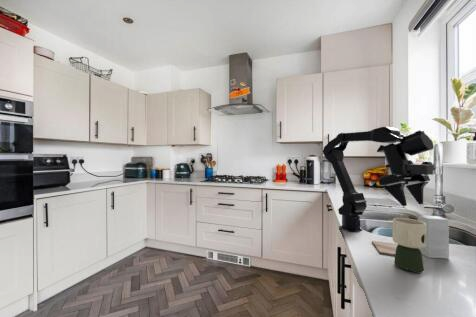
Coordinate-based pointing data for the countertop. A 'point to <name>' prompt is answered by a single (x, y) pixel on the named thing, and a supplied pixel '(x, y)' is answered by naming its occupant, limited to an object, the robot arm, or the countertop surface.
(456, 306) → the countertop surface
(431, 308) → the countertop surface
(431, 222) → the skincare box
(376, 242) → the curved brown sheet
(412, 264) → the character mug
